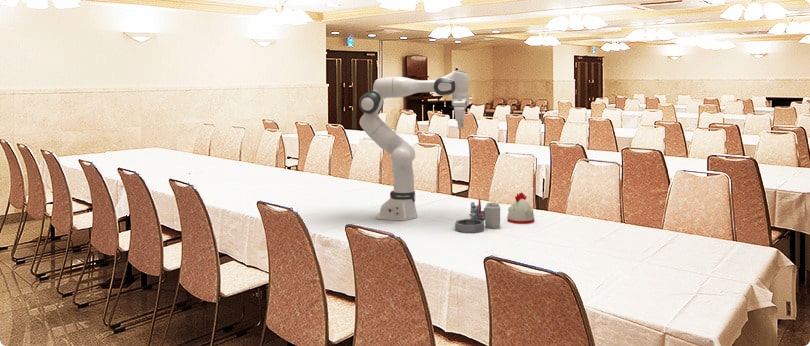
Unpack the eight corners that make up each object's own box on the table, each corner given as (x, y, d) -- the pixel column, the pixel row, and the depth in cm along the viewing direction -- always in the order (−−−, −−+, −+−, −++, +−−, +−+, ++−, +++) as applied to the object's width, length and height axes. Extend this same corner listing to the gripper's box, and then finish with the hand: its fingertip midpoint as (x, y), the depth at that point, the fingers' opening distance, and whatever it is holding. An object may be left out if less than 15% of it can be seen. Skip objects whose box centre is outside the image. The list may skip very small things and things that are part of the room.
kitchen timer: (501, 221, 340) (501, 192, 338) (519, 216, 349) (519, 189, 347) (522, 225, 330) (522, 196, 328) (539, 221, 339) (540, 192, 336)
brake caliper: (491, 216, 340) (477, 198, 340) (474, 228, 343) (460, 210, 343) (493, 212, 351) (479, 194, 351) (476, 223, 354) (463, 206, 354)
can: (489, 224, 333) (489, 201, 331) (502, 226, 329) (502, 202, 327) (482, 227, 327) (482, 204, 325) (495, 229, 323) (496, 205, 321)
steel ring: (454, 232, 318) (454, 225, 317) (456, 225, 331) (456, 218, 331) (483, 233, 315) (483, 225, 315) (484, 226, 329) (484, 219, 328)
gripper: (456, 101, 350) (456, 126, 352) (452, 102, 330) (452, 130, 332) (467, 100, 349) (468, 126, 351) (465, 102, 329) (465, 130, 331)
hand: (460, 128), depth 341 cm, fingers open, 8 cm apart
